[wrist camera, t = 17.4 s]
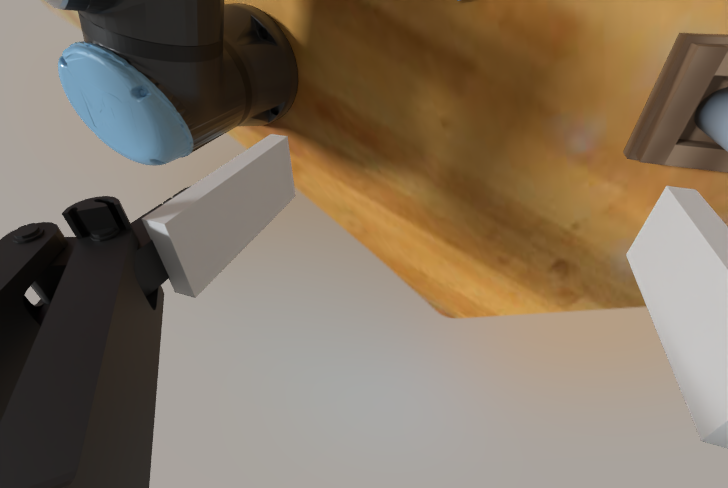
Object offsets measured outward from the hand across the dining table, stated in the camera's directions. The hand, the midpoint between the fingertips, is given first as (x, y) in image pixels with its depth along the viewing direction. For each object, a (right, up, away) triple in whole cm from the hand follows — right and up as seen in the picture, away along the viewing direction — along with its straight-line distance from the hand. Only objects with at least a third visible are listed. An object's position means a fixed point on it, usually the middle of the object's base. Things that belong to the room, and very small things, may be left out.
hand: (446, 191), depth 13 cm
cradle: (+33, +12, +23) cm, 42 cm away
